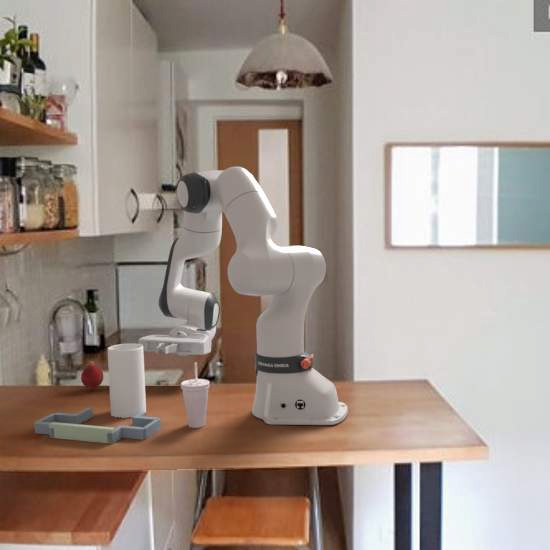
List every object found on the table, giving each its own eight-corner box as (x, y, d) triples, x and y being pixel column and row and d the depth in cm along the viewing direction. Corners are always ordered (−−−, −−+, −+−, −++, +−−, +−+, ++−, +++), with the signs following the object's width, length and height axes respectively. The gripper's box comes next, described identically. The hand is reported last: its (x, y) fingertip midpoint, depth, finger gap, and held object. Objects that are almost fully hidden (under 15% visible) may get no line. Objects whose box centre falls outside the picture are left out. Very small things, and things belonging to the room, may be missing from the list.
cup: (133, 419, 131) (130, 351, 130) (103, 416, 134) (100, 349, 132) (152, 408, 139) (149, 344, 138) (123, 405, 142) (120, 342, 140)
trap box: (168, 423, 128) (167, 410, 127) (136, 446, 115) (135, 431, 114) (68, 415, 135) (68, 402, 135) (28, 435, 122) (27, 421, 122)
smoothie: (216, 421, 128) (213, 360, 127) (203, 431, 122) (201, 367, 121) (190, 419, 130) (188, 359, 129) (177, 428, 124) (174, 365, 123)
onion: (97, 393, 153) (95, 364, 152) (77, 393, 154) (76, 364, 153) (107, 387, 158) (106, 359, 158) (88, 387, 159) (87, 359, 159)
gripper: (151, 327, 168) (126, 337, 155) (215, 331, 162) (195, 341, 149) (152, 348, 169) (127, 359, 156) (216, 352, 163) (195, 364, 150)
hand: (161, 350), depth 153 cm, fingers closed
